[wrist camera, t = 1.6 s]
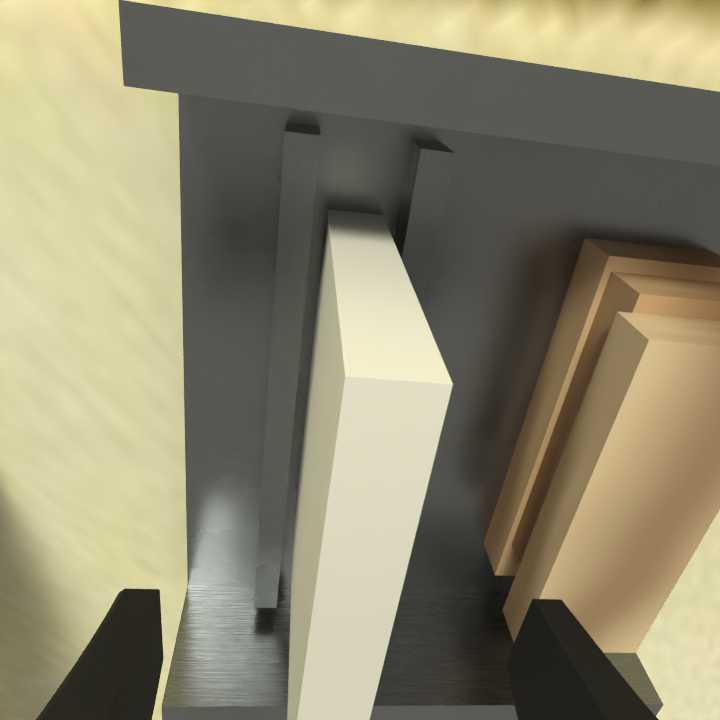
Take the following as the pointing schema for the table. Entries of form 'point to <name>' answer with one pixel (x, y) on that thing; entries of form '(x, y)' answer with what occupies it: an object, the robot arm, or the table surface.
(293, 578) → the white block
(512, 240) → the rack
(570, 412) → the offcut stack
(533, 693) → the robot arm
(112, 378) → the table surface
